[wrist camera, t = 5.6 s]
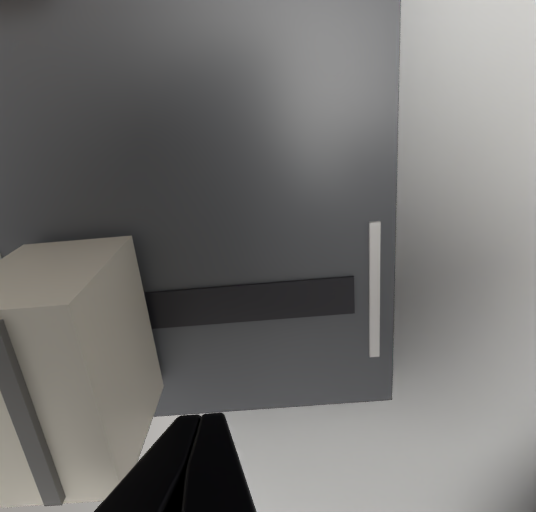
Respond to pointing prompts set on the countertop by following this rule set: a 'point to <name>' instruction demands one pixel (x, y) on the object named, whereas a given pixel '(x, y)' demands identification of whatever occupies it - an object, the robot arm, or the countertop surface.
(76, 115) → the console
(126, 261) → the block
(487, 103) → the countertop surface
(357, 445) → the countertop surface
